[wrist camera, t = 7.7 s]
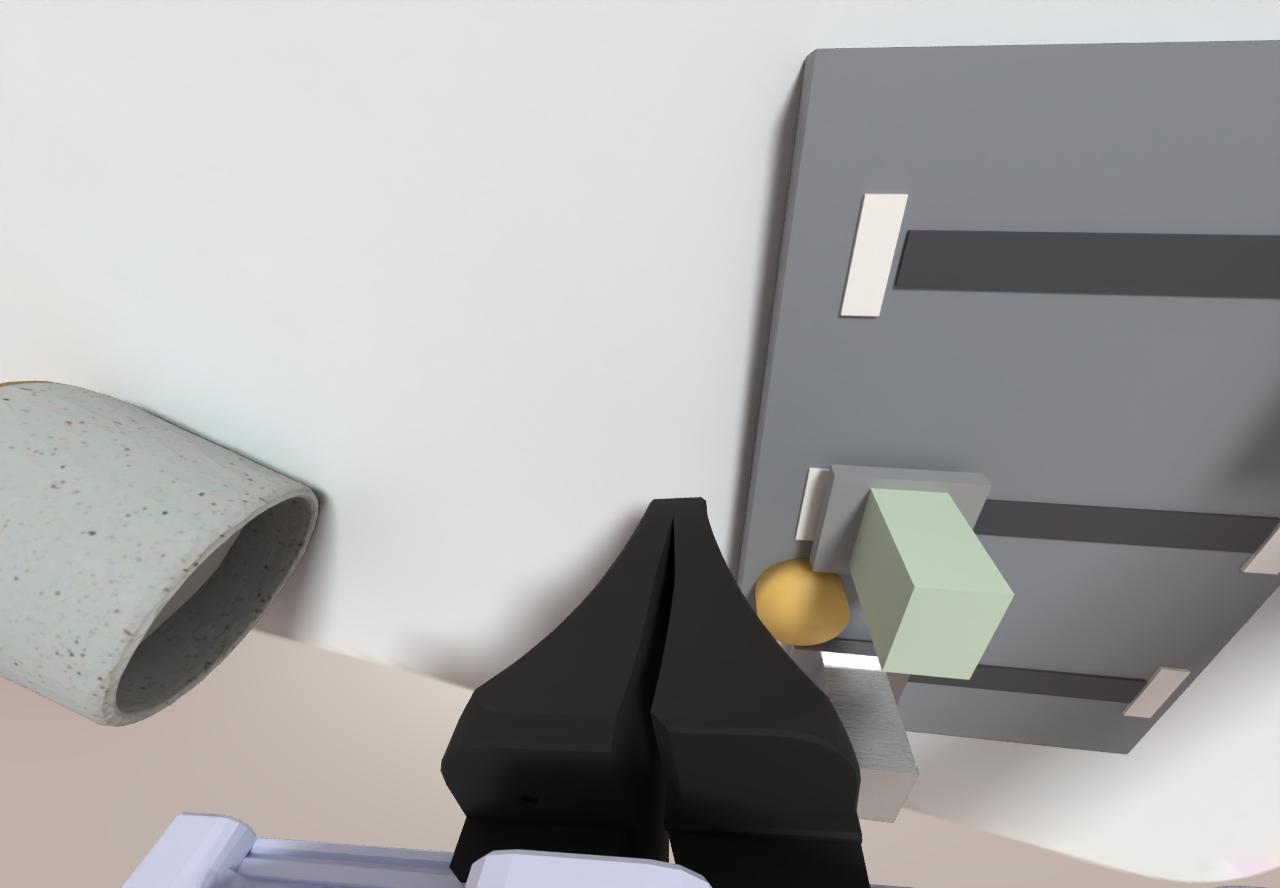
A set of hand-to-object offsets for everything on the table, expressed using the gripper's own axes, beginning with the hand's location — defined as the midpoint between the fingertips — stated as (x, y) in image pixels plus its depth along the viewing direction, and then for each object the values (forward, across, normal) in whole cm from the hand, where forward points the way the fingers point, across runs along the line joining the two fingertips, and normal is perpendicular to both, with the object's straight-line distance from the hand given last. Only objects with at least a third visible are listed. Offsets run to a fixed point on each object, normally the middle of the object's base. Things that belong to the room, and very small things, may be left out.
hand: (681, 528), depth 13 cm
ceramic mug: (+3, +17, 0) cm, 17 cm away
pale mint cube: (+1, -5, +1) cm, 6 cm away
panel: (+3, -9, +1) cm, 9 cm away
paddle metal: (+1, -4, +7) cm, 9 cm away
